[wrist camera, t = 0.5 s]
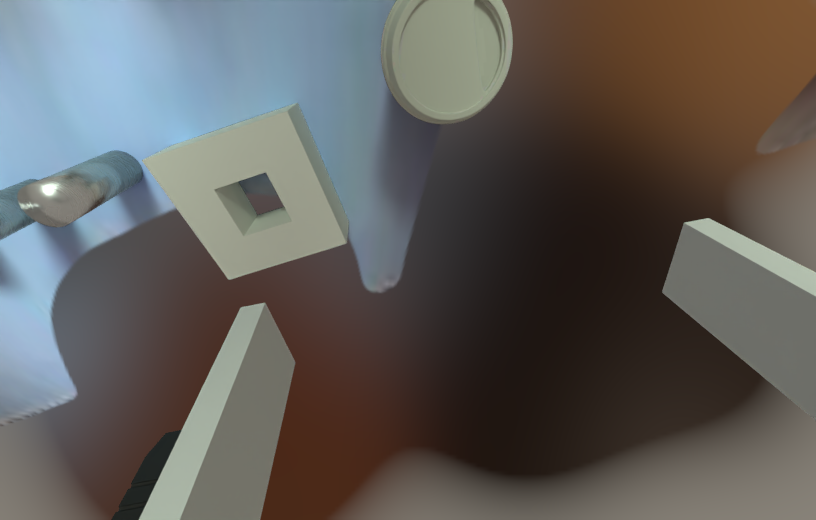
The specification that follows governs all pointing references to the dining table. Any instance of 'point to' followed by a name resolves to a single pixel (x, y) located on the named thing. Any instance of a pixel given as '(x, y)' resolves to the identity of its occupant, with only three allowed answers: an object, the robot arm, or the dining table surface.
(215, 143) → the hole block
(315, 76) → the dining table surface
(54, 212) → the medium pin
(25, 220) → the long pin
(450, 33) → the coffee cup
